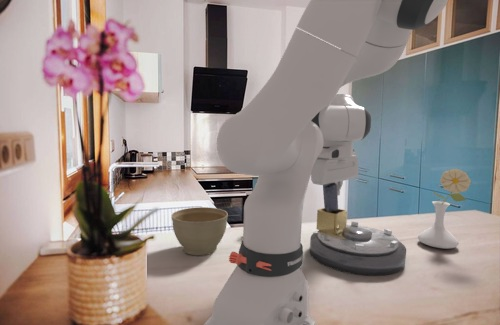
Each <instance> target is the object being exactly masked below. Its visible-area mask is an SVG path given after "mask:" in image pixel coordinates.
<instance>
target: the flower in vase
mask: <svg viewBox="0 0 500 325" xmlns="http://www.w3.org/2000/svg"><path fill="white" fill-rule="evenodd" d="M439 182H440V184H441V187H443V188H442V189H443V190H445V191H448V192H450V193H449V194H448V196H447V197H446V198H445V197H444V196H442V195H441V194H438V193H436V192H435V191H434V190H433V191H432V192H433V194H434V195H435V196H437V197H439V198H441V199H443V201H439V200H435V201H434V200H433V201H431V203H432V205H433V207H434V210H435V218H434V219H435V220H434V221H435V222H434V224H433V225H432V226H431V227H429V228H426V229H425V230H423V231H421V232H420V233H419V234H418V235H417V239H418V241H419V242H421V243H422V244H424V245H427V246H429V247H432V248H437V249H444V250H445V249H453V248H454V249H455V248H457V247H458V246H459V244H460V243H459V240H458V239H457V238H456V237H455V235H453V234H452V233H451V232H450V231H449V230H448V229H447V228H446V227H445V225H444V221H445V220H444V219H445V213H446V210H447V209H448V207H449V206H451V203H449V202H447V200H448V199H449V198H451V199H452V200H453V201H455V202H464V201H467V199H466V197H465V196H463V195H462V194H461V193H463V192H466V191H468V190H469V187H470V186H471V184H472V183H471V182H472V180H471V179H470V177H469V176H468V173H466V172H465V171H463V170H462V169H457V168H453V169H449V170H445V171H443V172H442V175H441V176H440V180H439Z"/></svg>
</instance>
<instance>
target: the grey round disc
mask: <svg viewBox="0 0 500 325" xmlns="http://www.w3.org/2000/svg"><path fill="white" fill-rule="evenodd" d="M347 218H348V210H346V209H341V208H338V213H336V214H335V213H331V212H326V211H325V208H324V207H323V208H320V209H319V208H318V209H317V213H316V230H317V231H318V241H319V242H320V243H321V244H323V245H324V246H326V247H328V248H331V249H333V250H336V251H339V252H343V253H347V254H353V255H361V256H383V255H389V254H392V253H394V252H396V251H397V250H398V244H399V242H400V241H399V240H398V238H396V236H394V235H392V233H393V231H392V230H391V229H389V228H384V230H381V229H377V228H372V227H368V226H364V225H359V222H358V221H354V220H353V221H352V220H351V222H350V223H351V224H347V222H348V220H347ZM398 241H399V242H398Z"/></svg>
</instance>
